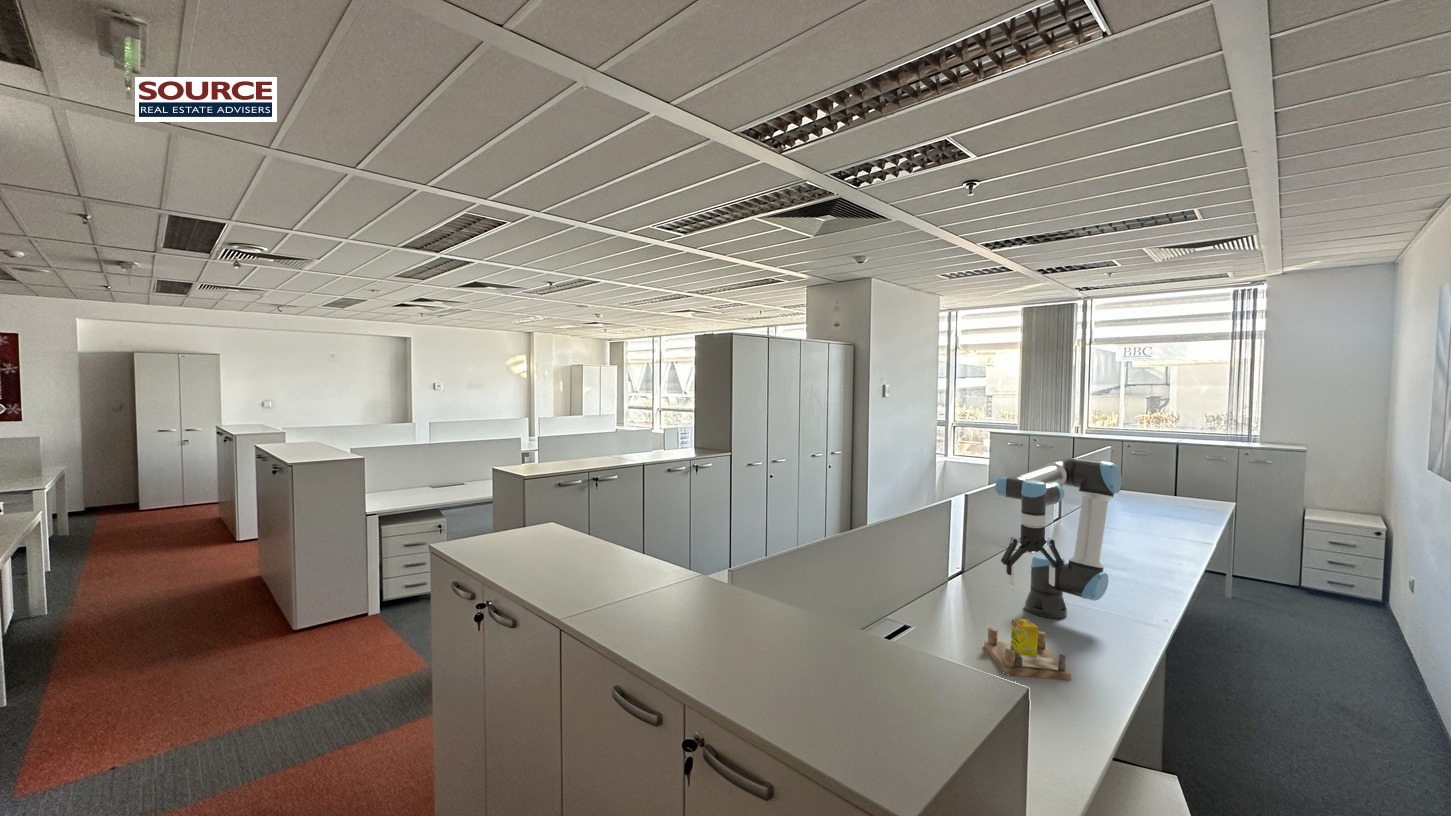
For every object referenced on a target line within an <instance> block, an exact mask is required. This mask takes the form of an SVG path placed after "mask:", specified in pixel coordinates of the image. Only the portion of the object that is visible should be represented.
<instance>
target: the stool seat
mask: <svg viewBox="0 0 1451 816" xmlns="http://www.w3.org/2000/svg"><path fill="white" fill-rule="evenodd" d="M998 633H999V632H998V629H996V628H994V627H989V628H987V640H984V644H983V645H984V649H986V651H987V653H989V655H990V656H991V658H992V659H993V661H994V662H995V663H996V665H997V666H998V667H999V669H1000V670H1001V672H1002V671H1003V672H1004V673H1003V672H1002V673H1003V674H1004V675H1005V676H1007V675H1006V674H1009V675H1008V676H1012V675H1014V676H1016V677H1027V678H1028V677H1029V678H1040V679H1041V678H1042V679H1055V680H1066V681H1067V680H1068V681H1072V673H1071V672H1070V670H1069V669H1067V667H1066V659H1067V657H1066V654H1064V653H1059V654H1058V658H1057V657H1056V656H1055V655H1054V654H1053V653H1052V651H1050V650H1049V648H1048V647H1047V646H1046V638H1047V637H1046V636H1047V633H1046V632H1045V631H1040V630H1038V639H1037V657H1044V658H1054V659H1056V660H1057V661H1058V662H1059V663H1058V670H1053V669H1044V668H1034V667H1025V666H1015V651H1013V650H1011V641H1010V642H1008V641H998Z"/></svg>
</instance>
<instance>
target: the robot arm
mask: <svg viewBox="0 0 1451 816" xmlns="http://www.w3.org/2000/svg"><path fill="white" fill-rule="evenodd" d="M1122 478H1123V477H1122V472H1121V470H1120V468H1119V466H1118V465H1117V464H1116V463H1113V462H1109V461H1103V460H1093V459H1083V458H1082V459H1081V458H1074V457H1072V458H1065V459H1059V460H1056V461H1051V462H1048V463H1047V464H1045V465H1044V466H1043V467H1041V468H1038V469H1035V470H1032V471H1029V472H1027V473H1023V474H1021V475H1017V476H1013V477H1008V476H1000V477H999V478H997V480H996V482H995V486H994V487H995V488H994V489H995V492H996V494H997V495H998V496H1000V497H1004V498H1007V499H1015V500H1021V510H1020V511H1021V512H1020V514H1021V515H1020V523H1021V525H1020V537H1019V538H1015V537H1011V538H1010V544H1009V545H1008V546H1007V549H1006V550H1005V552H1004V554H1003V556H1002V557H1001V558H1000V562H1001V563H1002V564H1003V565H1005V566H1006V567H1005V569H1006V574H1007V575H1008V583H1009V584H1010V585H1011V586H1014V585H1015V566H1014V564H1015V563H1016V562H1017V561H1018V560H1019V559H1021V557H1022V556H1023V555H1024V554H1026V553H1027V552H1028V553H1031V552H1036V553H1038V552H1040V553H1042V554H1038V555H1035V556H1033V557H1032V558H1031V564H1030V565H1031V566H1030V590H1029V592H1028V595H1027V597H1026V599H1025V602H1024V609H1025V610H1026V611H1028V612H1029V613H1031V614H1033V615H1036V616H1039V617H1043V618H1047V619H1064V618H1066V617H1067V615H1068V609H1067V606H1066V602H1065V599H1064V596H1063V595H1064V593H1065V594H1069V595H1072V596H1076V597H1078V598H1082V599H1083V600H1089V601H1098V600H1100V599H1102V597H1104V595H1105V594H1106V591H1107V590H1108V586H1109V581H1110V580H1109V575H1108V573H1107V572H1106V571H1104V566H1103V564H1102V563H1101V561H1100V560H1101V554H1102V548H1103V541H1104V533H1105V527H1106V526H1105V524H1106V518H1107V513H1108V506H1109V505H1108V504H1109V501H1110V500H1112V499H1113V498H1114V494H1117V493H1119V492H1120V491H1121V489H1122V485H1123V479H1122ZM1062 486H1068V487H1074V488H1079V489H1078V493H1079V494H1080V495H1081V505H1080V513H1079V519H1078V527H1077V533H1076V539H1075V547H1074V555H1073V556H1072V557H1070V558H1069V559H1068V562H1065V558H1064V557H1063V556H1061V555H1060V552H1058V549H1057V547H1056V541H1055V540H1054V539H1053V538H1051V537H1049V538H1045V537H1046V527H1045V526H1046V509H1047V508H1046V507H1047V506H1051V505H1056V504H1057V503H1059V502H1061V501H1062V500H1064V497H1065V491H1064V488H1063V487H1062ZM1019 544H1020V545H1019ZM1018 545H1019V546H1018ZM1045 545H1047V546H1048V547H1049V549H1050V551H1051V553H1052V554H1050V553H1048V551H1047V550H1046V549H1045V548H1044V546H1045ZM1017 546H1018V549H1017V550H1016V548H1017ZM1014 551H1015V552H1014Z"/></svg>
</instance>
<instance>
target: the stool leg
mask: <svg viewBox="0 0 1451 816" xmlns="http://www.w3.org/2000/svg"><path fill="white" fill-rule="evenodd" d="M1058 663H1059V662H1058V661H1057V660H1056V659H1054V658H1044V657H1035V656H1025V655H1017V654H1015V666H1025V667H1034V668H1044V669H1053V670H1058Z"/></svg>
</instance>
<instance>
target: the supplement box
mask: <svg viewBox="0 0 1451 816" xmlns="http://www.w3.org/2000/svg"><path fill="white" fill-rule="evenodd" d="M1038 631H1039V626H1037V625H1036V624H1035V623H1034V622H1032V621H1031V620H1030V619H1029V618H1026V619H1025V618H1024V619H1023V618H1013V619H1011V633H1010V634H1011V636H1010V637H1011V639H1010V643H1011V650H1013V651H1015V654H1017V655H1025V656H1035V657H1037V639H1038Z"/></svg>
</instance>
